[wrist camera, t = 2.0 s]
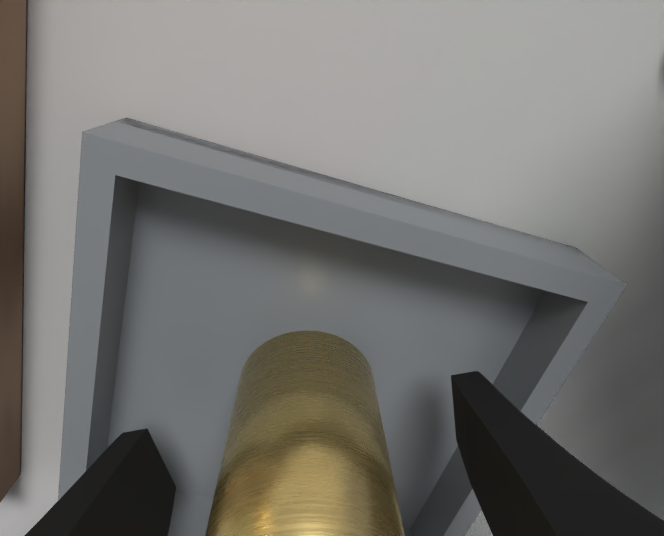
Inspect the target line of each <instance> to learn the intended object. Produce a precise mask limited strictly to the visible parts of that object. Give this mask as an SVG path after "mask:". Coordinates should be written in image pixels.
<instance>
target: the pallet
mask: <svg viewBox="0 0 664 536" xmlns="http://www.w3.org/2000/svg"><path fill="white" fill-rule="evenodd" d="M25 76H26V0H0V502H1V501H2V499H3V498H4V496H5V495H6V493H7V492H8V491H9V489H10V488H11V486H12V485H13V483H14V482H15V480H16V479H17V478H18V476H19V475H20V456H21V380H22V304H23V228H24V152H25Z"/></svg>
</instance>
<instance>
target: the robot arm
mask: <svg viewBox="0 0 664 536" xmlns="http://www.w3.org/2000/svg"><path fill="white" fill-rule="evenodd" d="M451 384H452V396H453V408H454V420H455V432H456V441H457V444H458V447H459V450H460V453H461V457H462V460H463V463H464V466H465V469H466V472H467V475H468V478H469V481H470V484H471V486H472V488H473V491H474V493H475V495H476V498H477V500H478V502H479V504H480V507H481V509H482V511H483V514H484V516H485V518H486V520H487V523H488V525H489V527H490V529H491V532H492V534H493V536H664V521H663V520H662V519H660V518H658V517H657V516H655V515H654V514H652V513H651V512H649V511H648V510H646V509H645V508H643V507H642V506H640V505H639V504H638V503H636V502H635V501H633V500H632V499H630V498H629V497H627V496H626V495H625V494H623V493H622V492H620V491H619V490H617V489H616V488H615V487H613V486H612V485H611V484H609V483H608V482H606V481H605V480H604V479H602V478H601V477H600V476H598V475H597V474H596V473H594V472H593V471H592V470H590V469H589V468H588V467H587V466H585V465H584V464H583V463H581V462H580V461H579V460H578V459H576V458H575V457H574V456H572V455H571V454H570V453H569V452H568V451H566V450H565V449H564V448H563V447H561V446H560V445H559V444H558V443H557V442H555V441H554V440H553V439H552V438H551V437H549V436H548V435H547V434H546V433H545V432H544V431H543V430H541V429H540V428H539V427H538V426H537V425H536V424H534V423H533V422H532V421H531V420H530V419H529V418H528V417H526V416H525V415H524V414H523V413H522V412H521V411H520V410H519V409H518V408H517V407H516V406H514V405H513V404H512V403H511V402H510V401H509V400H508V399H507V398H506V397H505V396H504V395H503V394H502V393H501V392H500V391H499V390H498V389H497V388H496V387H495V386H494V385H493V384H492V383H491V382H490V381H489V380H488V379H487V378H486V377H485V376H484V375H483V374H481V373H480V372H478V371H473V372H467V373H461V374H456V375H451ZM175 492H176V486H175V484H174V482H173V479H172V477H171V475H170V473H169V471H168V469H167V467H166V465H165V463H164V461H163V459H162V457H161V455H160V453H159V451H158V449H157V447H156V445H155V443H154V441H153V439H152V437H151V435H150V433H149V431H148V429H147V428H146V429H140V430H135V431H129V432H123V433H122V434H121V435H120V436H119V437H118V438H117V439H116V440H115V441H114V442H113V443H112V444H111V445H110V446H109V447H108V448H107V449H106V450H105V451H104V452H103V453H102V454H101V455H100V456H99V457H98V458H97V460H96V461H95V462H94V463H93V464H92V465H91V466H90V467H89V468H88V469H87V470H86V471H85V473H84V474H83V475H82V476H81V477H80V478H79V479H78V480H77V481H76V482H75V483H74V484H73V486H72V487H71V488H70V489H69V490H68V491H67V492H66V493H65V494H64V495H63V496H62V497H61V498H60V499H59V501H58V502H57V503H56V504H55V505H54V506H53V507H52V508H51V509H50V510H49V511H48V512H47V513H46V514H45V515H44V516H43V518H42V519H41V520H40V521H39V522H38V523H37V524H36V525H35V526H34V527H33V528H32V529H31V530H30V531H29V532H28V533H27V534H26V535H25V536H168V532H169V527H170V522H171V516H172V511H173V505H174V498H175Z"/></svg>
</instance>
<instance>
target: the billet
mask: <svg viewBox="0 0 664 536" xmlns="http://www.w3.org/2000/svg"><path fill="white" fill-rule="evenodd" d="M205 536H405V535H404V530H403V525H402V519H401V514H400V509H399V504H398V499H397V494H396V489H395V484H394V479H393V474H392V469H391V464H390V459H389V454H388V449H387V443H386V438H385V433H384V428H383V423H382V418H381V413H380V408H379V403H378V398H377V393H376V388H375V383H374V378H373V373H372V370H371V367H370V365H369V363H368V361H367V359H366V358H365V356H364V355H363V354H362V352H361V351H360V350H359V349H358V348H356V347H355V346H354V345H353V344H351V343H350V342H348V341H346V340H345V339H343V338H341V337H338V336H336V335H333V334H329V333H326V332H320V331H308V330H307V331H295V332H289V333H286V334H282V335H279V336H277V337H274V338H272V339H270V340H268V341H267V342H265V343H263V344H262V345H261V346H259V347H258V348H257V349H256V350H255V351H254V352H253V353H252V354H251V355H250V357H249V358H248V359H247V361H246V363H245V364H244V366H243V369H242V372H241V376H240V380H239V385H238V389H237V394H236V398H235V403H234V407H233V412H232V416H231V421H230V425H229V430H228V435H227V439H226V444H225V448H224V453H223V457H222V462H221V466H220V471H219V475H218V480H217V484H216V489H215V493H214V498H213V503H212V507H211V512H210V516H209V521H208V525H207V530H206V534H205Z"/></svg>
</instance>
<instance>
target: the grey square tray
mask: <svg viewBox="0 0 664 536" xmlns="http://www.w3.org/2000/svg"><path fill="white" fill-rule="evenodd" d="M626 286H627V284H626V283H624V282H623V281H621V280H620V279H619V278H617V277H616V276H614V275H613V274H612V273H610V272H609V271H607V270H606V269H605V268H603V267H602V266H600V265H599V264H598V263H596V262H595V261H593V260H592V259H591V258H589V257H588V256H586V255H585V254H584V253H582V252H581V251H579V250H578V249H577V248H574V247H570V246H567V245H564V244H560V243H557V242H553V241H550V240H546V239H543V238H539V237H536V236H532V235H529V234H526V233H522V232H519V231H515V230H512V229H508V228H505V227H501V226H498V225H495V224H491V223H488V222H484V221H481V220H477V219H474V218H470V217H467V216H463V215H460V214H457V213H453V212H450V211H446V210H443V209H439V208H436V207H432V206H429V205H426V204H422V203H419V202H415V201H412V200H408V199H405V198H401V197H398V196H395V195H391V194H388V193H384V192H381V191H377V190H374V189H370V188H367V187H363V186H360V185H357V184H353V183H350V182H346V181H343V180H339V179H336V178H332V177H329V176H326V175H322V174H319V173H315V172H312V171H308V170H305V169H301V168H298V167H294V166H291V165H288V164H284V163H281V162H277V161H274V160H270V159H267V158H263V157H260V156H257V155H253V154H250V153H246V152H243V151H239V150H236V149H232V148H229V147H226V146H222V145H219V144H215V143H212V142H208V141H205V140H201V139H198V138H194V137H191V136H188V135H184V134H181V133H177V132H174V131H170V130H167V129H163V128H160V127H157V126H153V125H150V124H146V123H143V122H139V121H136V120H132V119H129V118H124V119H121V120H118V121H114V122H111V123H108V124H105V125H102V126H99V127H96V128H93V129H90V130H86V131H83V132H82V143H81V159H80V174H79V189H78V205H77V220H76V235H75V251H74V266H73V281H72V297H71V312H70V327H69V342H68V358H67V373H66V388H65V404H64V419H63V434H62V450H61V465H60V480H59V496H58V501H59V499H60V498H61V497H62V496H63V495H64V494H65V493H66V492H67V491H68V490H69V489H70V488H71V487H72V486H73V484H74V483H75V482H76V481H77V480H78V479H79V478H80V477H81V476H82V475H83V474H84V473H85V471H86V470H87V469H88V468H89V467H90V466H91V465H92V464H93V463H94V462H95V461H96V460H97V458H98V457H99V456H100V455H101V454H102V453H103V452H104V451H105V450H106V449H107V448H108V447H109V446H110V445H111V444H112V443H113V442H114V441H115V440H116V439H117V438H118V437H119V436H120V435H121V434H122V433H123V432H129V431H135V430H140V429H146V428H147V429H148V431H149V433H150V435H151V437H152V439H153V441H154V443H155V445H156V447H157V449H158V451H159V453H160V455H161V457H162V459H163V461H164V463H165V465H166V467H167V469H168V471H169V473H170V475H171V477H172V479H173V482H174V484H175V486H176V492H175V498H174V505H173V511H172V516H171V522H170V527H169V532H168V536H205V534H206V530H207V525H208V521H209V516H210V512H211V507H212V503H213V498H214V493H215V489H216V484H217V480H218V475H219V471H220V466H221V462H222V457H223V453H224V448H225V444H226V439H227V435H228V430H229V425H230V421H231V416H232V412H233V407H234V403H235V398H236V394H237V389H238V385H239V380H240V376H241V372H242V369H243V366H244V364H245V363H246V361H247V359H248V358H249V357H250V355H251V354H252V353H253V352H254V351H255V350H256V349H257V348H258V347H259V346H261V345H262V344H263V343H265V342H267V341H268V340H270V339H272V338H274V337H277V336H279V335H282V334H286V333H289V332H295V331H307V330H308V331H320V332H326V333H329V334H333V335H336V336H338V337H341V338H343V339H345V340H346V341H348V342H350V343H351V344H353V345H354V346H355V347H356V348H358V349H359V350H360V351H361V352H362V354H363V355H364V356H365V358H366V359H367V361H368V363H369V365H370V367H371V370H372V373H373V378H374V383H375V388H376V393H377V398H378V403H379V408H380V413H381V418H382V423H383V428H384V433H385V438H386V443H387V449H388V454H389V459H390V464H391V469H392V474H393V479H394V484H395V489H396V494H397V499H398V504H399V509H400V514H401V519H402V525H403V530H404V535H405V536H464V535H465V534H466V532H467V531H468V529H469V528H470V526H471V525H472V523H473V522H474V520H475V519H476V517H477V515H478V514H479V512H480V511H481V507H480V504H479V502H478V500H477V498H476V495H475V493H474V491H473V488H472V486H471V484H470V481H469V478H468V475H467V472H466V469H465V466H464V463H463V460H462V457H461V453H460V450H459V447H458V444H457V441H456V432H455V420H454V408H453V396H452V384H451V375H456V374H461V373H467V372H473V371H478V372H480V373H481V374H483V375H484V376H485V377H486V378H487V379H488V380H489V381H490V382H491V383H492V384H493V385H494V386H495V387H496V388H497V389H498V390H499V391H500V392H501V393H502V394H503V395H504V396H505V397H506V398H507V399H508V400H509V401H510V402H511V403H512V404H513V405H514V406H516V407H517V408H518V409H519V410H520V411H521V412H522V413H523V414H524V415H525V416H526V417H528V418H529V419H530V420H531V421H532V422H533V423H534V424H536V425H537V423H538V422H539V420H540V418H541V417H542V415H543V414H544V412H545V411H546V409H547V408H548V406H549V405H550V403H551V402H552V400H553V398H554V397H555V395H556V394H557V392H558V391H559V389H560V388H561V386H562V385H563V383H564V382H565V380H566V378H567V377H568V375H569V374H570V372H571V371H572V369H573V368H574V366H575V365H576V363H577V362H578V360H579V358H580V357H581V355H582V354H583V352H584V351H585V349H586V348H587V346H588V345H589V343H590V342H591V340H592V338H593V337H594V335H595V334H596V332H597V331H598V329H599V328H600V326H601V325H602V323H603V322H604V320H605V318H606V317H607V315H608V314H609V312H610V311H611V309H612V308H613V306H614V305H615V303H616V301H617V300H618V298H619V297H620V295H621V294H622V292H623V291H624V289H625V288H626Z"/></svg>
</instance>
